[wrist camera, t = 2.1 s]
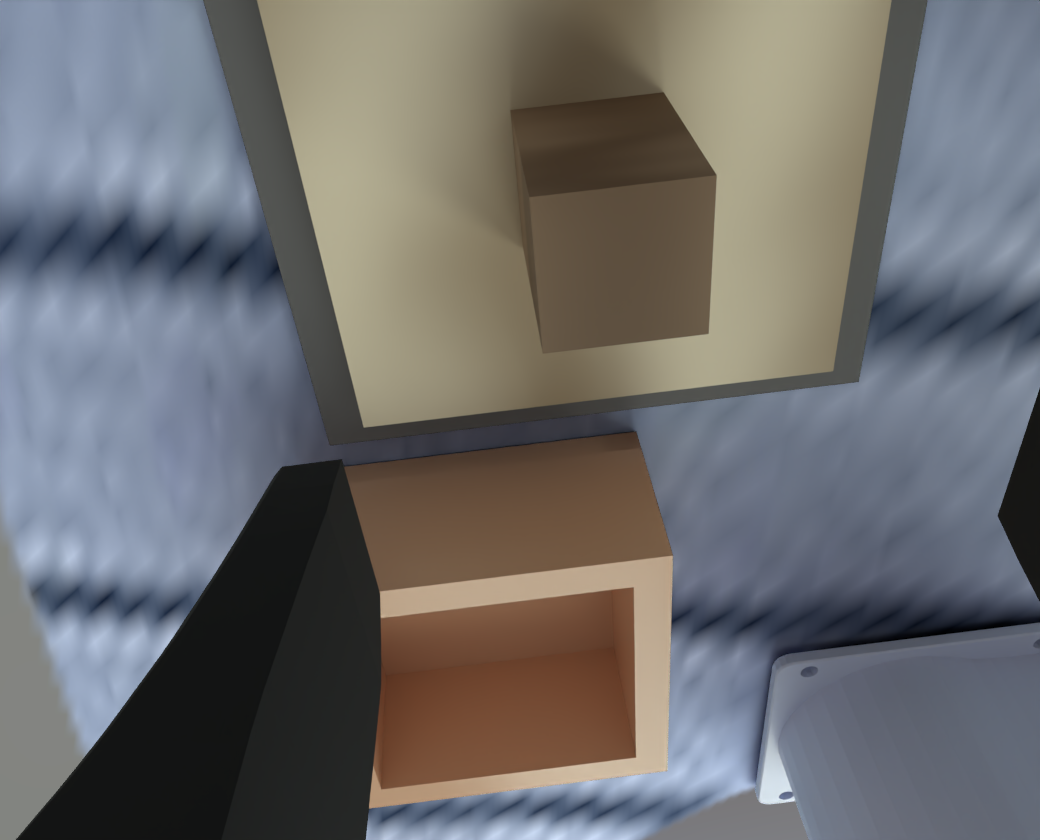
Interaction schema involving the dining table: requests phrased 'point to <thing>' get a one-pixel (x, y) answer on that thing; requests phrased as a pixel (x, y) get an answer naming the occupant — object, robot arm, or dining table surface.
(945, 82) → the dining table surface
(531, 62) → the lid
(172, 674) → the robot arm
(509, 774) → the tan square open box
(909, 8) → the mat
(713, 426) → the dining table surface
